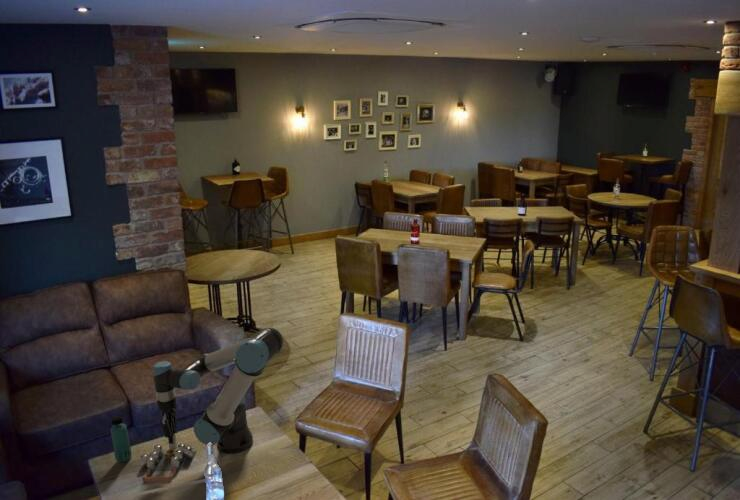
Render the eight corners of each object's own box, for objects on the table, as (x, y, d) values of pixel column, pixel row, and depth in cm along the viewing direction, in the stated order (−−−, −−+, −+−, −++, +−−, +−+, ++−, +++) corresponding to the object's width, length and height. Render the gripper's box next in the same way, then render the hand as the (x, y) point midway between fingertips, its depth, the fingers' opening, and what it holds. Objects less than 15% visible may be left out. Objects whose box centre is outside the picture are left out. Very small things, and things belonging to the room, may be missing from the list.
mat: (197, 453, 246) (197, 451, 246) (188, 471, 234) (187, 469, 234) (150, 455, 246) (150, 453, 246) (138, 474, 234) (138, 472, 234)
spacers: (195, 453, 245) (193, 442, 244) (186, 470, 233) (185, 459, 232) (149, 455, 245) (147, 445, 244) (138, 472, 233) (137, 461, 232)
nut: (176, 453, 245) (175, 447, 245) (175, 459, 241) (174, 453, 240) (166, 455, 244) (165, 449, 244) (165, 461, 240) (164, 455, 239)
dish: (176, 472, 233) (176, 467, 233) (171, 482, 227) (170, 476, 227) (149, 474, 233) (148, 468, 233) (143, 484, 227) (142, 478, 227)
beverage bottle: (126, 466, 240) (119, 422, 235) (112, 464, 241) (104, 421, 236) (135, 457, 246) (128, 414, 241) (121, 455, 247) (114, 413, 243)
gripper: (162, 391, 247) (169, 440, 253) (151, 406, 235) (159, 457, 240) (180, 390, 247) (186, 439, 253) (169, 405, 235) (177, 457, 240)
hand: (173, 448), depth 246 cm, fingers closed
